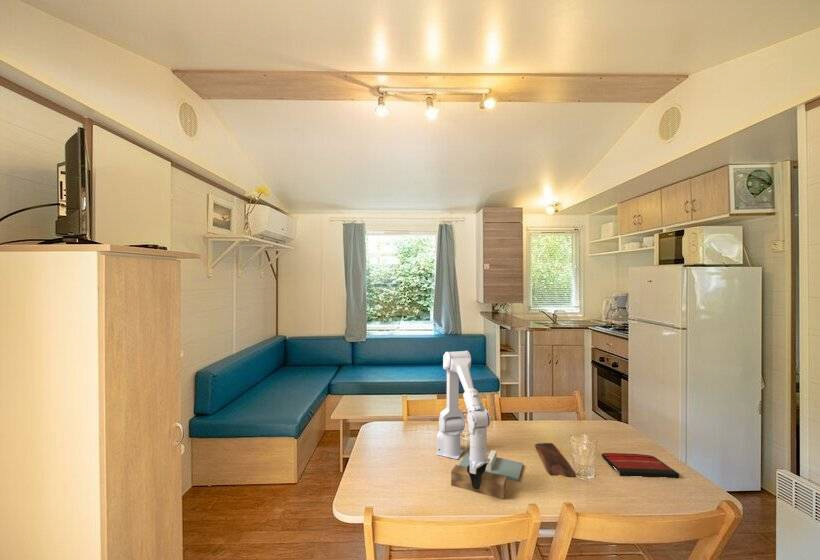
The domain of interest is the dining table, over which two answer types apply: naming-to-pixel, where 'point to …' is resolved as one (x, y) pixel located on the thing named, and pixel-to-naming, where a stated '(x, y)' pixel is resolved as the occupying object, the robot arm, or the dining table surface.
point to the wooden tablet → (554, 460)
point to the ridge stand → (498, 466)
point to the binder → (639, 465)
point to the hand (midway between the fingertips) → (478, 484)
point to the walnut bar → (488, 485)
